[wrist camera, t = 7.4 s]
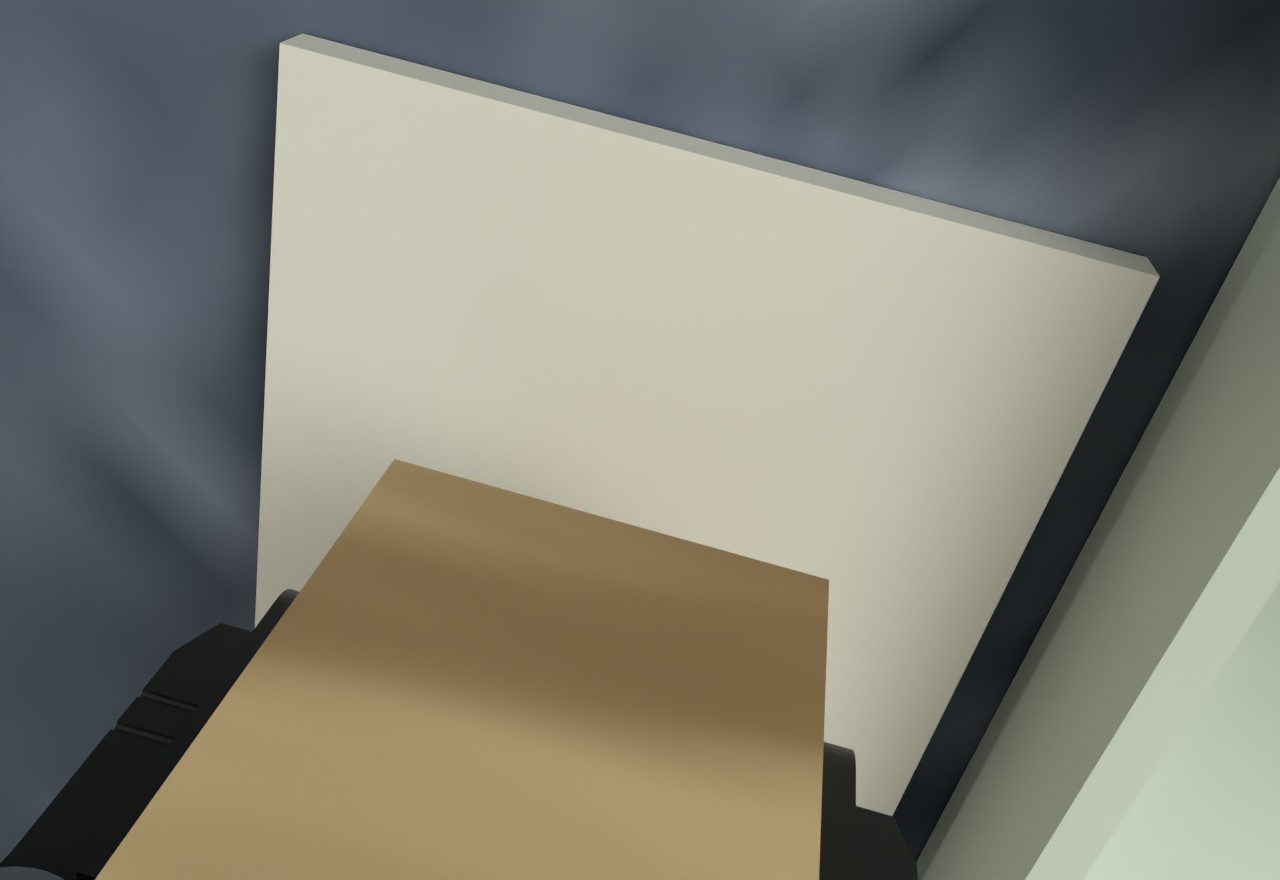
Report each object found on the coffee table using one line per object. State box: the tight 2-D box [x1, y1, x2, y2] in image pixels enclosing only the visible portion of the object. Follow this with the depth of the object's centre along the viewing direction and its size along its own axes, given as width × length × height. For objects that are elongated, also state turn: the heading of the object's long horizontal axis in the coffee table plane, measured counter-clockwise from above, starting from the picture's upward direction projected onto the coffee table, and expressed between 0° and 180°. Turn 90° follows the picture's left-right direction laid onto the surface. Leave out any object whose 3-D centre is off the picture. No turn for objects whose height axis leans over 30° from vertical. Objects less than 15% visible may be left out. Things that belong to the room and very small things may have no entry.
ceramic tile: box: [255, 34, 1160, 816], centre depth 15 cm, size 10×10×1 cm
